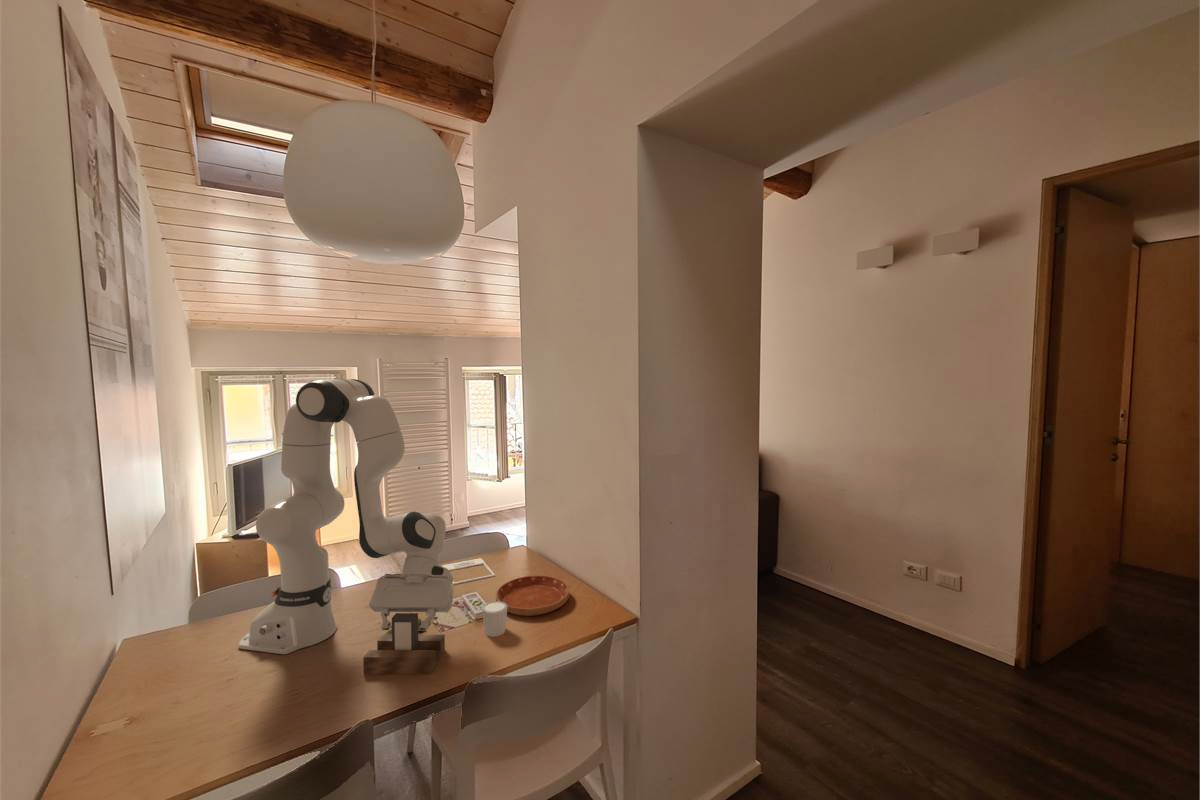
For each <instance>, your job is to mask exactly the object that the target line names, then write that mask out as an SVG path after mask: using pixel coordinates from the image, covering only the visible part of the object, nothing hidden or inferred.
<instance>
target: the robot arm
mask: <svg viewBox="0 0 1200 800" xmlns="http://www.w3.org/2000/svg"><path fill="white" fill-rule="evenodd" d="M342 421H343V422H346V423H347V424H348V425H349V426H350V427H351V430H352V432H353V435H354V440H355V443H356V447H357V452H358V453H357V456H358V457H357V464H356V466H355V467H354V470H353V471H354V472H353V481H354V490H355V491H354V492H355V500H356V506H357V513H358V515H357V516H358V521H359V530H358V531H359V534H358V540H359V541H358V542H359V543H358V544H359V547H360V548H361V550H362V552H364V553H365V554H366V555H367V556H368V557H370V558H373V559H380V558H383V557H386V556H389V555H391V554H396V553H401V552H404V553H405V554H406V557H405V558H404V562H403V566H402V570H401V573H392V574H391V573H385V574H384V575H382V576H380V577H378V579H377V581H376V584H375V589H374V590H373V593H372V595H371V597H370V600H369V604H368V605H369V607H370V609H371V610H372V611H373V612H378V613H380V616H381V618H382V624H381V627H380V628H381V630H382V631H390V630H391V626H392V621H390V620H389V619H388V617H389V616H390V614H391V612H392V613H411V612H412V613H427V614H428V616H427V617H426V618H425V620H421V625H420V629H421V630H426V631H428V628H429V625H430V624H431V623H430V622H432V621H433V620H434V619H435V617H436V614H437V613H448V612H449V611H450V610H451V608H452V607H453V602H454V601H453V600H454V587H453V584H452V583H453V581H454V577H453V573H451V571H449V570H448V569H447V568H444V567H442V565H440V555H441V554H442V551H443V550H444V549H443V548H444V543H445V538H446V522H445V520H444V519H443V517H442V516H440V515H438V514H435V513H429V512H428V513H423V514H422V513H420V512H418V511H409V512H404V513H399V514H396V515H392V516H387V517H386V516H385V515H384V514H383V508H382V501H381V493H380V492H381V491H380V484H381V482H382V480H383V478H384V477H385V476H386V475H387V474H388V473H389V472H390V471H392V470H393V469H394V468H395V467H397V465H398V464H399V463H400V462H401V461H402V459H403V457H404V453H405V447H406V446H405V441H404V437H403V433H402V431H401V426H400V423H399V421H398V418H397V416H396V413H395V412H394V409H393V407H392V406H391V403H390V402H389V401H388V399H387V398H386V397H384V396H380V395H375V391H374V390H373V388H372V387H371V385H370V384H368V383H366V382H364V381H362V380H359V379H355V378H353V379H352V378H350V379H349V378H338V377H336V378H332V379H318V380H317V379H316V380H312V381H310V382H307V383H306V384H303V385H302V386H301V387H300V388H299V390H298V391H297V393H296V397H295V403H294V404H292V405H291V406H290V407H289V409H288V411H287V413H286V418H285V421H284V426H283V433H282V443H281V444H282V445H281V463H280V464H281V465H280V466H281V468H280V470H281V473H282V474H283V476H284V477H286V478H288V479H289V480H290V482H291V484H292V487H293V494H292V495H291V496H289V497H286V498H283V499H280V500H278V501H276V502H274V503H273V504H271V505H269V506H268V507H266V508H265V509H263V510H262V511H260V513H259V514H258V516H257V518H256V521H255V529H256V533H257V535H258V536H259V538H260V539H261V540H262V541H263V542H265V543H267V544H269V545H270V546H272V547H273V549H274V550H275V552H276V555H277V558H278V560H279V561H278V562H279V568H280V570H279V571H280V572H279V573H280V586H278V587H277V588H276V590H274V591H273V592H271V593H270V598H274V597H275V598H274V601H272V602H271V603H270V604H269V605H268V606H266V607H265V608H264V609H262V610H261V611H260V612H259V613H258V614H256V616H255V617H254V618H253V620H252V621H251V624H250V628H249V632H247V633H246V634H245V635H244V636H243V637H242V638H241V639H240V640H239V642H238V649H240V650H249V651H256V652H263V653H271V654H279V655H287V654H290V653H292V652H295V651H297V650H300V649H303V648H307V647H310V646H313V645H316V644H318V643H321V642H323V641H325V640H326V639H328V638H330V637H331V636H333V634H335V632H336V631H337V629H338V625H337V623H336V621H335V618H334V615H333V614H334V613H333V610H332V604H331V603H332V602H331V600H332V581H331V578H330V572H329V570H330V569H329V567H330V566H329V565H330V564H329V562H330V561H329V553H328V551H327V549H326V548H324V547H322V546H320V545H319V544H318V540H317V537H316V533H317V530H319V529H321V528H324V527H325V526H328V525H329V524H331V523H333V522H334V521H335V520H336V519H337V518H338V517H339V516H340V515H341V514H342V513H343V512H344V509H345V498H344V495H343V494H342V493H341V492H340V491H339V490H338V489H337V488H336V487H335V485H334V481H333V478H332V473H331V444H332V443H331V442H332V438H331V437H332V428H333V426H334V424H338V423H340V422H342Z"/></svg>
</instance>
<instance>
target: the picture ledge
mask: <svg viewBox="0 0 1200 800" xmlns="http://www.w3.org/2000/svg"><path fill="white" fill-rule="evenodd" d="M445 636H446V635H445V634H418V642H419V650H392V634H386V633H383V634H382V635H381V636H380V637H379V638H378V639H377V641H376V642H377V643H376V646H377V647H376V649H369V650H368V651H367V652H366V654H365V655H364V656H363V658H362V659H363V674H365V675H370V674H371V675H372V674H374V675H375V674H378V675H380V674H381V675H388V674H389V675H391V674H394V675H397V674H398V675H404V674H405V675H407V674H409V675H410V674H411V675H421V674H422V675H426V674H427V675H428V674H429V675H430V674H432V673H433V671H434V669H435V667H436V666H437V664H438V663H439V660H440V659H441V657H442V655H443V654H444V652H445V650H446V646H445V645H446V641H445V640H446V639H445V638H446V637H445Z"/></svg>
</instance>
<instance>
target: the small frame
mask: <svg viewBox="0 0 1200 800" xmlns="http://www.w3.org/2000/svg"><path fill="white" fill-rule="evenodd" d="M418 619H419V612H412V613H411V612H395V614H394V615H393V616H392V617H391V626H392V627H391V630H392V650H419V642H418V635H419V631H418Z"/></svg>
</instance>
